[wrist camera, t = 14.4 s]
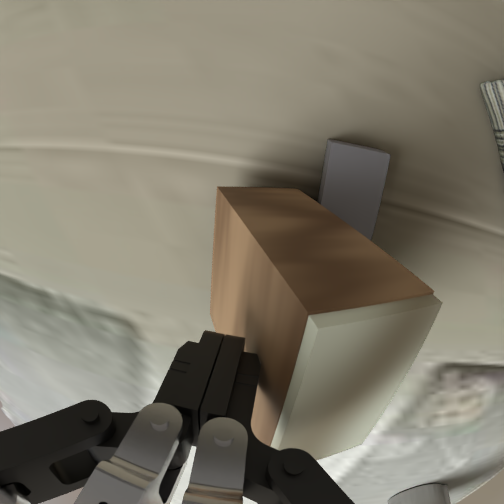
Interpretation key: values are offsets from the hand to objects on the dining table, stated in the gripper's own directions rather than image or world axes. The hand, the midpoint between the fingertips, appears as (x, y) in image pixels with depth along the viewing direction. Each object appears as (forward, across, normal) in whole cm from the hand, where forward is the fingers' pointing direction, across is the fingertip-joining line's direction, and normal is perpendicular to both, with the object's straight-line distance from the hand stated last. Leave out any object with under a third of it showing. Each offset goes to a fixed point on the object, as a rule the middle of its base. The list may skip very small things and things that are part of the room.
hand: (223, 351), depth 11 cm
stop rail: (+9, -5, 0) cm, 10 cm away
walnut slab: (+8, 0, 0) cm, 8 cm away
